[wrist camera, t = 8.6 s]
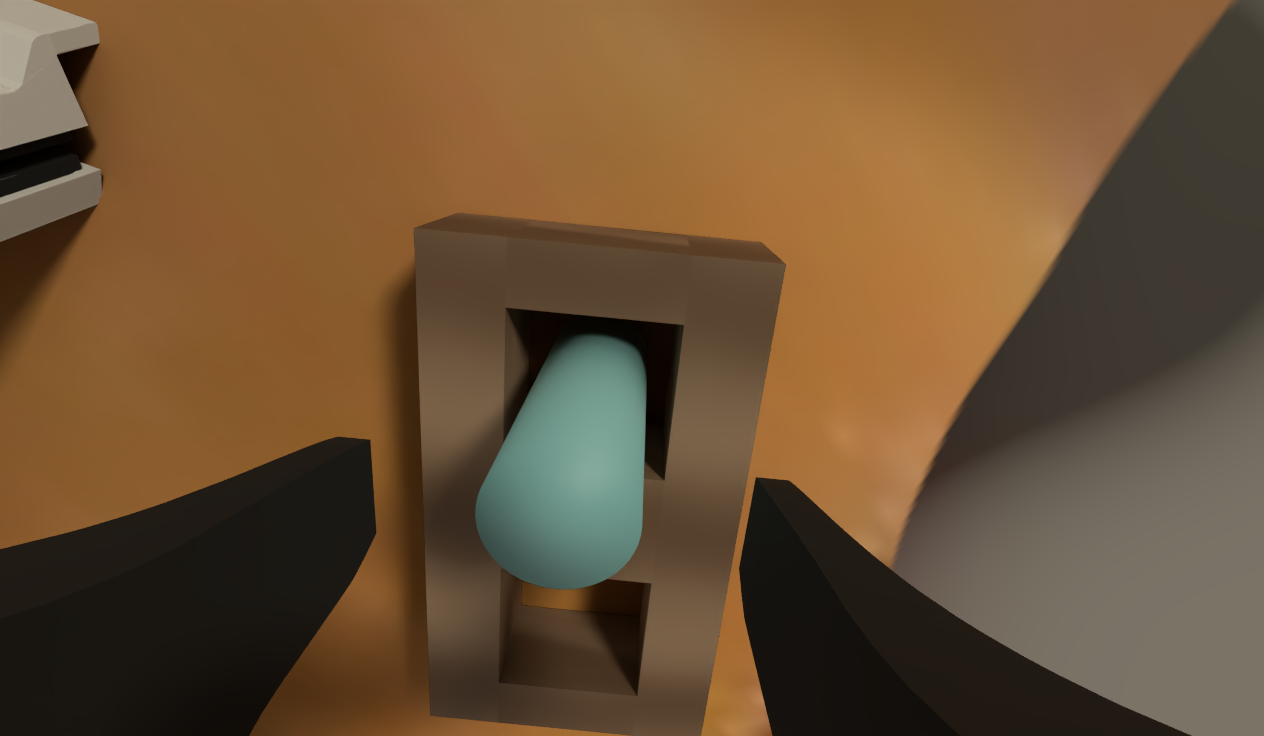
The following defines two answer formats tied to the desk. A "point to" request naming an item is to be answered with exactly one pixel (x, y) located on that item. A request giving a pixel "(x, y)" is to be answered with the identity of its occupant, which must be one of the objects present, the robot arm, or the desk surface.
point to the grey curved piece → (40, 118)
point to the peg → (573, 462)
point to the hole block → (673, 465)
